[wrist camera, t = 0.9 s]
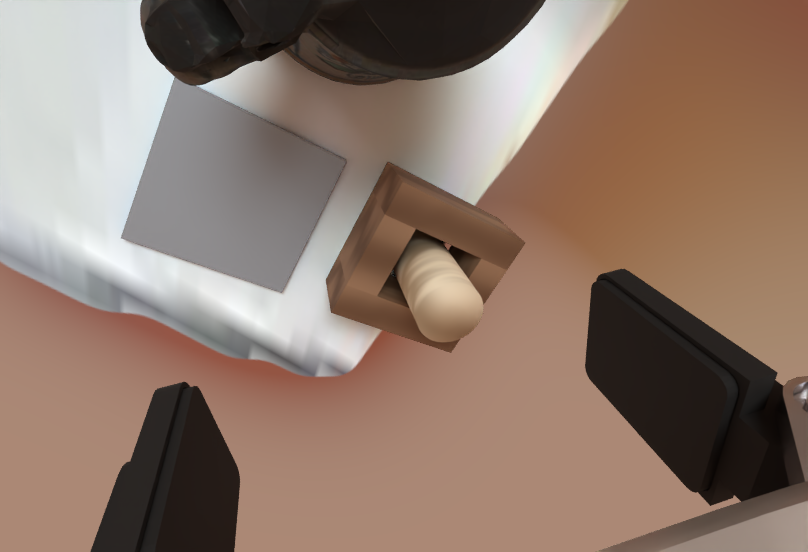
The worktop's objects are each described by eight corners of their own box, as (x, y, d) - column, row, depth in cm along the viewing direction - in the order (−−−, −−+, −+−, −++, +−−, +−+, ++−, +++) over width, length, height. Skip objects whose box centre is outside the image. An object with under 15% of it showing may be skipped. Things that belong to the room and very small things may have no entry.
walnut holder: (387, 161, 41) (402, 181, 36) (498, 218, 46) (525, 242, 41) (325, 279, 45) (331, 312, 40) (433, 319, 50) (450, 352, 45)
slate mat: (176, 76, 34) (174, 77, 33) (345, 159, 40) (346, 161, 39) (123, 234, 39) (120, 238, 38) (281, 288, 44) (281, 292, 44)
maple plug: (403, 214, 44) (439, 273, 33) (449, 236, 46) (496, 297, 36) (377, 261, 45) (404, 330, 35) (422, 279, 48) (460, 350, 37)
